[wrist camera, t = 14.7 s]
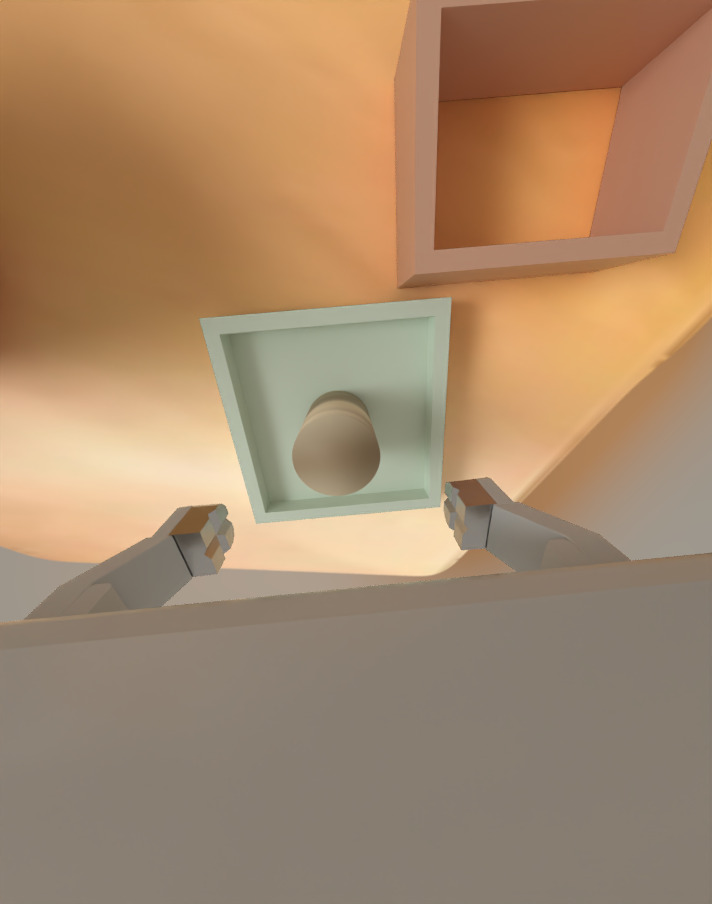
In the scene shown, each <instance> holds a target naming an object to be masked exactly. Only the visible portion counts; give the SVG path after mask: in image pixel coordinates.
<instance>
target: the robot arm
mask: <svg viewBox="0 0 712 904" xmlns="http://www.w3.org/2000/svg"><path fill="white" fill-rule="evenodd" d="M445 493H446V495H447V497H448V498H447V499H446V501H445V502H444V514H445V519H446V522H447V524H448V526H449V528H451V529H453V530H454V538H455V540H456V541H457V543H458V545H459V547H460V549H461V550H470V549H485V548H486V550H487V551H489V552H490V553H492V554H493V555H494V556H496V557H497V558H498V559H500V560H501V561H503V562H504V563H505V564H507V565H508V566H510V567H511V568H512V569H514V570H515V571H516V572H511V573H501V574H491V575H481V576H471V577H462V578H461V577H460V578H450V579H440V580H430V581H419V582H409V583H399V584H388V585H378V586H367V587H357V588H348V589H337V590H327V591H318V592H307V593H298V594H288V595H278V596H267V597H256V598H246V599H236V600H226V601H215V602H205V603H194V604H185V605H174V606H164V607H162V606H163V605H164V603H166V602H167V601H168V600H169V599H170V598H171V597H172V596H174V595H175V594H176V593H177V592H178V591H179V590H180V589H181V588H182V587H183V586H184V585H186V584H187V583H188V582H189V581H190V580H191V579H192V577H196V576H204V575H211V574H218V572H219V570H220V568H221V566H222V564H223V562H224V560H225V556H224V553H225V552H227V551H228V550H229V549H230V548H231V546H232V544H233V540H234V528H233V525H232V523H231V522H230V521H229V520H227V519H226V517H227V515H228V511H227V509H226V506H225V505H223V504H211V505H198V506H186V507H180V508H177V510H176V511H175V512H174V513H173V514H172V515H171V516H170V517H169V518H168V520H167V521H166V522H165V523H164V524H163V525H162V526H161V527H160V528H159V529H158V531H157V532H156V533H155V534H154V535H153V536H152V537H150V538H146V539H144V540H142V541H140V542H138V543H137V544H135V545H133V546H131V547H129V548H128V549H126V550H124V551H122V552H120V553H119V554H117V555H115V556H113V557H111V558H110V559H108V560H106V561H104V562H102V563H101V564H99V565H97V566H95V567H93V568H92V569H90V570H88V571H86V572H84V573H83V574H81V575H79V576H77V577H75V578H74V579H72V580H70V581H68V582H67V583H65V584H63V585H61V586H59V587H58V588H57V589H56V590H55V591H54V592H53V593H52V594H51V595H50V596H48V597H47V599H45V600H44V601H43V602H42V603H41V604H40V605H39V606H38V607H37V608H36V609H34V610H33V611H32V612H31V613H30V614H29V615H28V616H27V617H26V618H25V619H24V620H20V621H9V622H0V904H712V553H705V554H695V555H684V556H674V557H665V558H654V559H643V560H633V561H631V560H630V559H629V558H628V557H626V556H625V555H624V554H623V553H622V552H620V551H619V550H618V549H617V548H615V547H614V546H613V545H612V544H611V543H609V542H608V541H607V540H606V539H604V538H603V537H602V536H601V535H600V534H597V533H595V532H592V531H590V530H587V529H585V528H582V527H580V526H577V525H575V524H572V523H570V522H567V521H565V520H562V519H560V518H557V517H555V516H552V515H550V514H547V513H545V512H542V511H540V510H537V509H535V508H532V507H530V506H527V505H525V504H522V503H520V502H513V501H512V500H511V499H510V498H509V497H508V496H507V495H506V494H505V493H504V492H503V491H502V490H501V489H500V488H499V487H498V486H497V485H496V484H495V483H494V481H493V480H492V479H491V478H488V477H485V478H478V479H471V480H463V481H454V482H446V485H445Z"/></svg>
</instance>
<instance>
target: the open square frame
mask: <svg viewBox="0 0 712 904" xmlns="http://www.w3.org/2000/svg"><path fill="white" fill-rule="evenodd" d="M394 87H395V155H396V223H397V288H407V287H419V286H431V285H443V284H455V283H466V282H478V281H490V280H502V279H514V278H526V277H537V276H549V275H561V274H573V273H585V272H596V271H600V270H605V269H609V268H613V267H617V266H621V265H625V264H630V263H634V262H638V261H642V260H646V259H650V258H655V257H659V256H663V255H667V254H671V253H675V251H676V248H677V245H678V242H679V239H680V236H681V232H682V229H683V226H684V223H685V220H686V217H687V214H688V211H689V208H690V205H691V202H692V199H693V195H694V192H695V189H696V186H697V183H698V180H699V177H700V174H701V171H702V168H703V165H704V162H705V158H706V155H707V152H708V149H709V146H710V143H711V140H712V0H410V4H409V9H408V14H407V19H406V24H405V29H404V34H403V39H402V44H401V49H400V54H399V59H398V64H397V69H396V74H395V78H394ZM613 87H622V89H621V94H620V99H619V103H618V108H617V113H616V117H615V122H614V126H613V131H612V136H611V140H610V145H609V150H608V154H607V159H606V163H605V168H604V173H603V177H602V182H601V187H600V191H599V196H598V200H597V205H596V210H595V214H594V219H593V224H592V228H591V233H590V237H586V238H574V239H562V240H550V241H538V242H526V243H514V244H502V245H490V246H478V247H466V248H454V249H442V250H434V231H435V198H436V165H437V132H438V101H450V100H463V99H475V98H488V97H500V96H513V95H525V94H538V93H550V92H563V91H576V90H588V89H601V88H613Z"/></svg>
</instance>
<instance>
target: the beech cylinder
mask: <svg viewBox="0 0 712 904" xmlns="http://www.w3.org/2000/svg"><path fill="white" fill-rule="evenodd" d="M292 461H293V465H294V469H295V471H296V473H297V475H298V476H299V478H300V479H301V480H302V481H303V482H304V483H305V484H306V485H307V486H308V487H309V488H311V489H313V490H314V491H316V492H319V493H322V494H325V495H330V496H343V495H348V494H352V493H354V492H357V491H359V490H361V489H362V488H364V487H365V486H366V485H367V484H368V483H369V482H370V481H371V480H372V479H373V478H374V476H375V475H376V472H377V470H378V468H379V464H380V448H379V445H378V441H377V438H376V435H375V432H374V429H373V426H372V422H371V419H370V416H369V413H368V410H367V408H366V406H365V404H364V403H363V402H362V401H361V400H360V399H359V398H358V397H357V396H355V395H353V394H352V393H349V392H346V391H330V392H327V393H325V394H323V395H321V396H319V397H318V398H317V399H316V400H315V401H314V402H313V403H312V405H311V407H310V409H309V411H308V413H307V415H306V418H305V420H304V422H303V424H302V427H301V429H300V431H299V433H298V435H297V438H296V440H295V442H294V445H293V450H292Z"/></svg>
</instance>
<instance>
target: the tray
mask: <svg viewBox="0 0 712 904" xmlns="http://www.w3.org/2000/svg"><path fill="white" fill-rule="evenodd" d="M451 301H452V297H446V298H434V299H422V300H410V301H399V302H387V303H375V304H363V305H351V306H340V307H328V308H316V309H304V310H293V311H281V312H269V313H257V314H245V315H234V316H222V317H210V318H199V320H200V324H201V327H202V331H203V335H204V338H205V342H206V345H207V349H208V352H209V356H210V360H211V363H212V367H213V370H214V374H215V378H216V381H217V385H218V388H219V392H220V396H221V399H222V403H223V406H224V410H225V413H226V417H227V421H228V424H229V428H230V431H231V435H232V439H233V442H234V446H235V449H236V453H237V456H238V460H239V464H240V467H241V471H242V474H243V478H244V482H245V485H246V489H247V492H248V496H249V500H250V503H251V507H252V510H253V514H254V517H255V521H256V524H257V523H268V522H279V521H291V520H302V519H313V518H324V517H335V516H346V515H357V514H368V513H379V512H390V511H401V510H412V509H423V508H434V507H440V501H441V483H442V464H443V446H444V428H445V410H446V392H447V374H448V356H449V337H450V319H451ZM330 391H346V392H349V393H352V394H353V395H355V396H357V397H358V398H359V399H360V400H361V401H362V402H363V403H364V404H365V406H366V408H367V410H368V413H369V416H370V419H371V422H372V426H373V429H374V432H375V435H376V438H377V441H378V445H379V448H380V464H379V468H378V470H377V472H376V475H375V476H374V478H373V479H372V480H371V481H370V482H369V483H368V484H367V485H366V486H365V487H364V488H362V489H361V490H359V491H357V492H354V493H352V494H348V495H343V496H330V495H325V494H322V493H319V492H316V491H314V490H313V489H311V488H309V487H308V486H307V485H306V484H305V483H304V482H303V481H302V480H301V479H300V478H299V476H298V475H297V473H296V471H295V469H294V465H293V461H292V450H293V445H294V442H295V440H296V438H297V435H298V433H299V431H300V429H301V427H302V424H303V422H304V420H305V418H306V415H307V413H308V411H309V409H310V407H311V405H312V403H313V402H314V401H315V400H316V399H317V398H318V397H319V396H321V395H323V394H325V393H327V392H330Z"/></svg>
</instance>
